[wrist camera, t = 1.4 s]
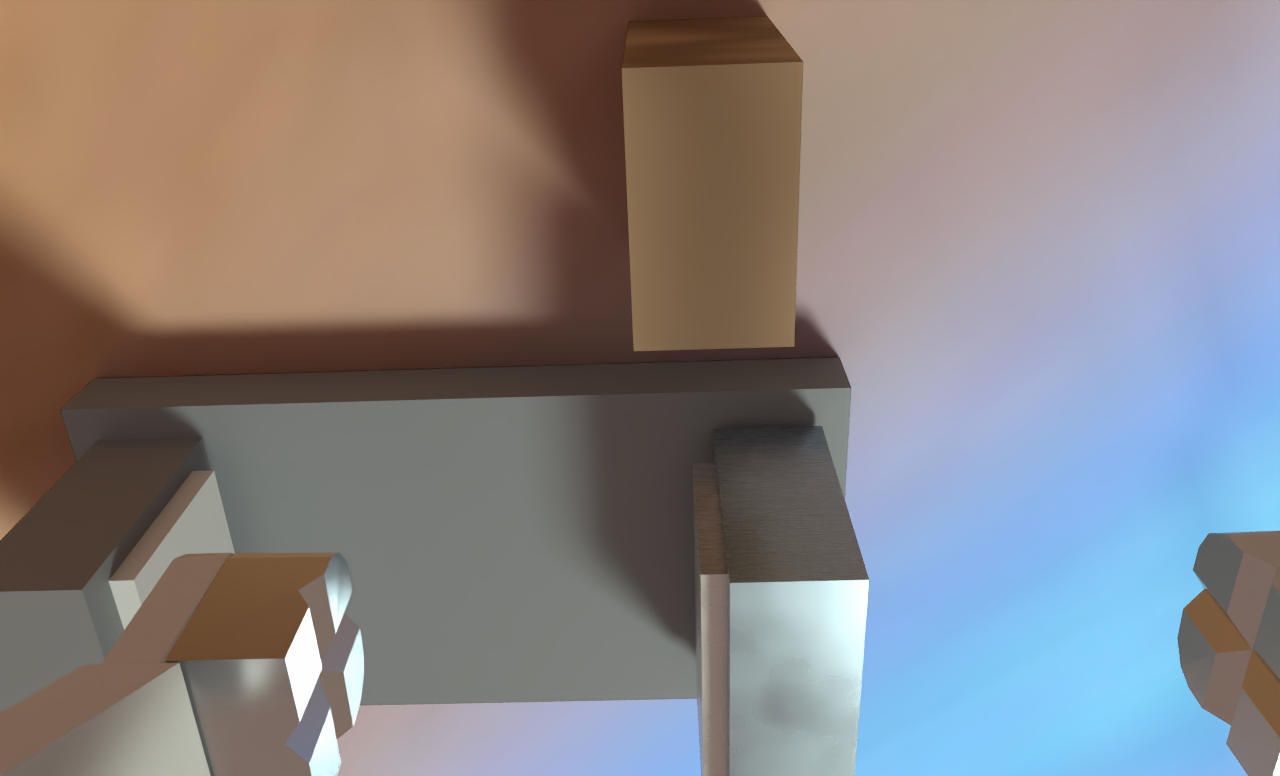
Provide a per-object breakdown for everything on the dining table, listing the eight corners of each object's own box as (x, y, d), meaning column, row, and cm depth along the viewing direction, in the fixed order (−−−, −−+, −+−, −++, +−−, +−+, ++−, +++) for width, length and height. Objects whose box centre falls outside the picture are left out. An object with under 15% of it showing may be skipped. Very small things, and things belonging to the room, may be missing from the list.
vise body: (839, 357, 31) (906, 532, 22) (824, 653, 35) (874, 885, 27) (94, 378, 31) (-102, 556, 23) (179, 667, 36) (42, 898, 28)
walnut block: (767, 16, 26) (803, 62, 20) (763, 243, 29) (794, 346, 23) (628, 21, 27) (621, 68, 20) (637, 247, 29) (633, 351, 23)
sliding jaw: (822, 425, 29) (869, 579, 23) (810, 678, 33) (847, 868, 27) (691, 429, 29) (702, 583, 23) (695, 680, 33) (705, 871, 27)
